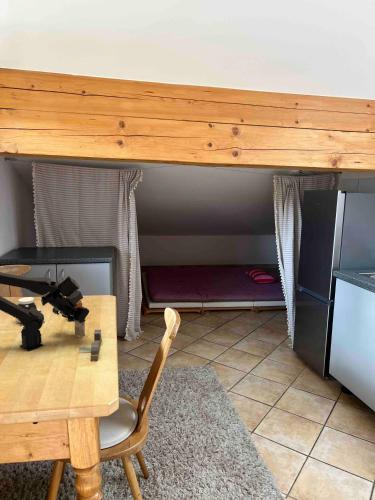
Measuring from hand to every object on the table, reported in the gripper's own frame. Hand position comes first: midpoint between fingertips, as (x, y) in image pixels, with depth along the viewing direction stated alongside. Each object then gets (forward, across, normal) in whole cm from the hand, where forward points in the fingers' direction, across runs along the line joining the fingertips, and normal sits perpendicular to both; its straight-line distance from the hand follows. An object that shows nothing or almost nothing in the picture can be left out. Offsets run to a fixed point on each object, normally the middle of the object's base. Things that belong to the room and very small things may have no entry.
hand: (82, 320), depth 150 cm
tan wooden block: (+4, 0, +6) cm, 7 cm away
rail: (-1, -14, +10) cm, 18 cm away
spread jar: (+1, +31, +9) cm, 32 cm away
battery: (+12, +18, -2) cm, 21 cm away
